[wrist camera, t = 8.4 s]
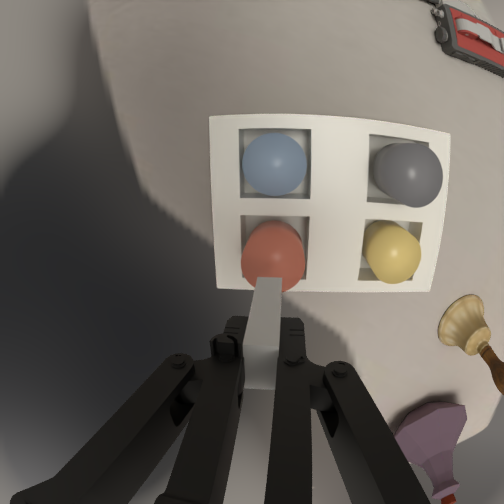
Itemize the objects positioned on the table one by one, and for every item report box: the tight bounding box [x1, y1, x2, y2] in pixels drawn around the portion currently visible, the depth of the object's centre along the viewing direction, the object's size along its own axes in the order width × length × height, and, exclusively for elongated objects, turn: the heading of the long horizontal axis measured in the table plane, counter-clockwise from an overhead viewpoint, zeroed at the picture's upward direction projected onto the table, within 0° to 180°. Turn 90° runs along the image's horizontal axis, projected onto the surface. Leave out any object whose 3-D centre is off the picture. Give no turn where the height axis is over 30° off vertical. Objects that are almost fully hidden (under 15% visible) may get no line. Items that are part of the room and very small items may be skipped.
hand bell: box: [438, 295, 504, 395], centre depth 23 cm, size 8×8×16 cm
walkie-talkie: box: [428, 0, 504, 78], centre depth 16 cm, size 9×4×20 cm
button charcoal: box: [373, 143, 443, 208], centre depth 20 cm, size 5×5×4 cm
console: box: [209, 114, 450, 292], centre depth 25 cm, size 16×22×4 cm
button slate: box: [242, 133, 307, 196], centre depth 23 cm, size 5×5×4 cm
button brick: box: [241, 220, 305, 292], centre depth 24 cm, size 5×5×4 cm
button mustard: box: [362, 220, 421, 284], centre depth 25 cm, size 5×5×4 cm
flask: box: [394, 402, 467, 504], centre depth 29 cm, size 16×16×20 cm
